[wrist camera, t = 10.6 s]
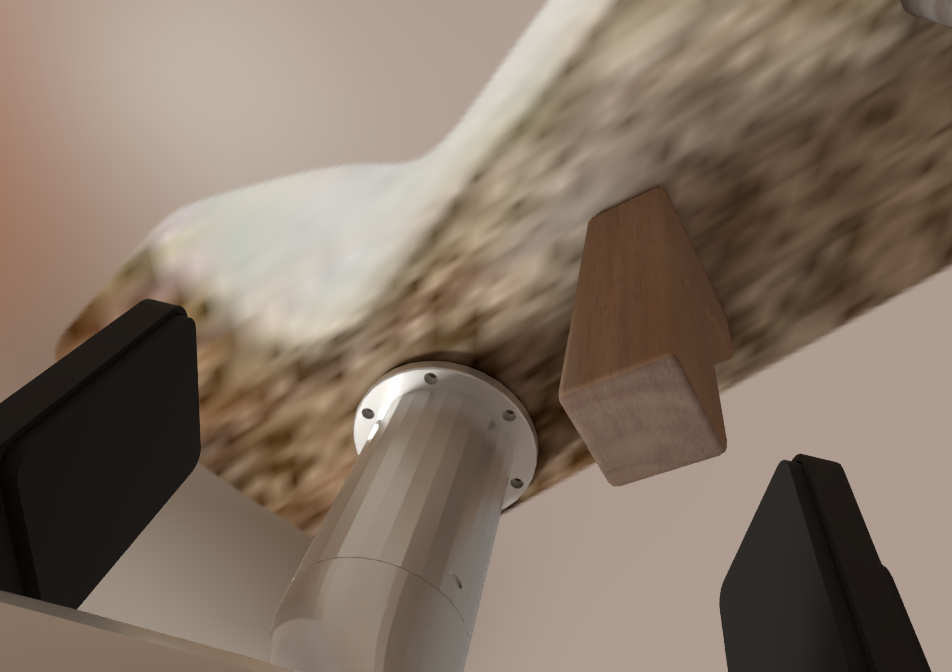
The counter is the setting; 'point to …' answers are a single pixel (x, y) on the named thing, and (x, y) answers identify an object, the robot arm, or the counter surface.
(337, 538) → the robot arm
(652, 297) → the wooden block
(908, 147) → the counter surface
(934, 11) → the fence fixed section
